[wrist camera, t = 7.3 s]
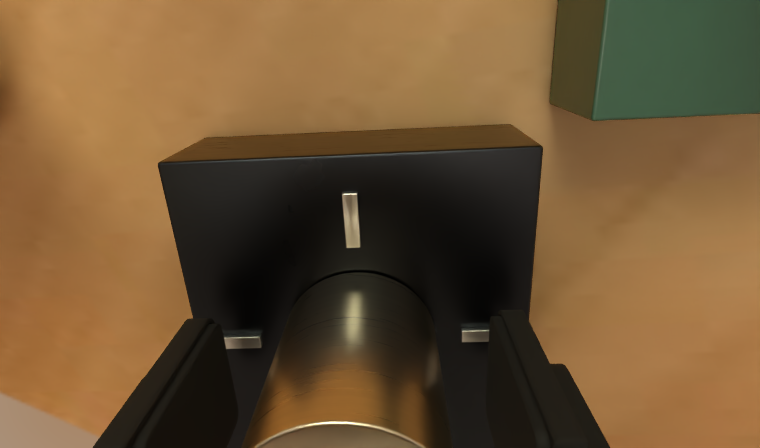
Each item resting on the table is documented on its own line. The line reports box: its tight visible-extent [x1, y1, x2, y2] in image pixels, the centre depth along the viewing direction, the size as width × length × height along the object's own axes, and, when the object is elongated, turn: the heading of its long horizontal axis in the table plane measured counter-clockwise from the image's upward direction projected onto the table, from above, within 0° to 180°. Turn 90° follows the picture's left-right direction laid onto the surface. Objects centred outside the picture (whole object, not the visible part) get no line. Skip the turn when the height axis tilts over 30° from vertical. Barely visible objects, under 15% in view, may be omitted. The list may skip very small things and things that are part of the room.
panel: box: [158, 124, 543, 448], centre depth 14 cm, size 10×9×3 cm
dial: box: [241, 272, 453, 448], centre depth 10 cm, size 4×4×5 cm
